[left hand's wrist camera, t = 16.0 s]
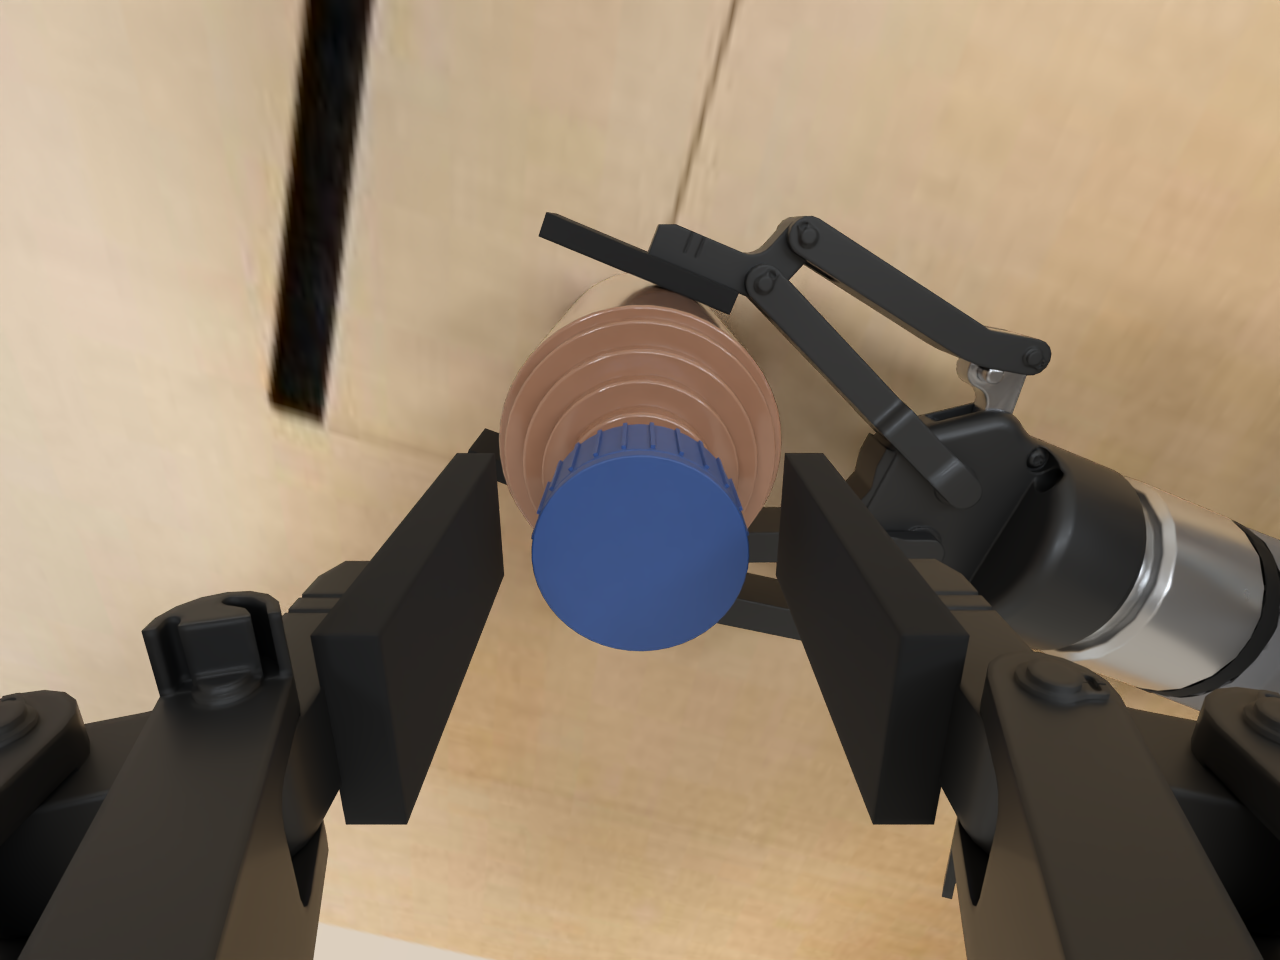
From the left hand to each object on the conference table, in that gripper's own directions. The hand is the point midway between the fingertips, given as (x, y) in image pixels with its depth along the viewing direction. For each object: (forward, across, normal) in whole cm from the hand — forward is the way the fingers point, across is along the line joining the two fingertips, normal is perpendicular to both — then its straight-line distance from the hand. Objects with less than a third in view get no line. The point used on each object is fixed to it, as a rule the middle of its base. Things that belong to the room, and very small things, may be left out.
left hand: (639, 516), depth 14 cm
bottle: (+18, 0, 0) cm, 18 cm away
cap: (-2, 0, 0) cm, 2 cm away
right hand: (+11, -4, +2) cm, 12 cm away
